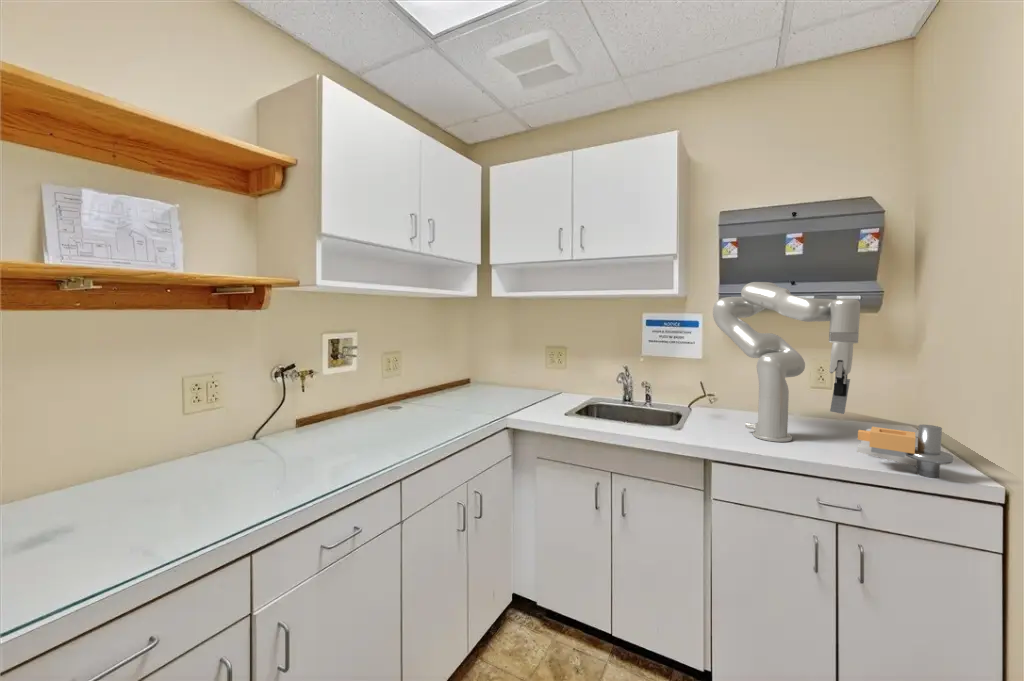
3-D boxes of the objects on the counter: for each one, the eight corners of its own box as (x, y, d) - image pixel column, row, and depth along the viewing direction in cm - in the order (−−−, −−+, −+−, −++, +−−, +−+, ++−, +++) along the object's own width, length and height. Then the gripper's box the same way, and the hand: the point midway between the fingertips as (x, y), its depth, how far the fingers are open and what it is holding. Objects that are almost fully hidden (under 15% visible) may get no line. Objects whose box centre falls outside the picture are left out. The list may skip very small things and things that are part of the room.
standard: (950, 474, 128) (953, 426, 127) (953, 484, 120) (956, 433, 119) (872, 460, 140) (874, 416, 139) (870, 469, 132) (872, 422, 131)
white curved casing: (855, 451, 149) (862, 422, 150) (862, 454, 151) (868, 425, 152) (918, 467, 134) (925, 434, 135) (925, 469, 136) (932, 437, 137)
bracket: (914, 447, 132) (915, 432, 132) (914, 453, 126) (915, 438, 126) (859, 439, 141) (859, 424, 140) (856, 444, 135) (857, 430, 134)
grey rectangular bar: (830, 411, 144) (835, 378, 143) (831, 410, 146) (836, 377, 144) (843, 414, 142) (849, 380, 140) (844, 412, 143) (850, 379, 142)
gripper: (832, 336, 150) (829, 390, 151) (825, 338, 138) (822, 397, 140) (860, 337, 145) (857, 393, 146) (855, 340, 133) (852, 400, 135)
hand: (840, 394), depth 143 cm, fingers closed on grey rectangular bar, 2 cm apart
